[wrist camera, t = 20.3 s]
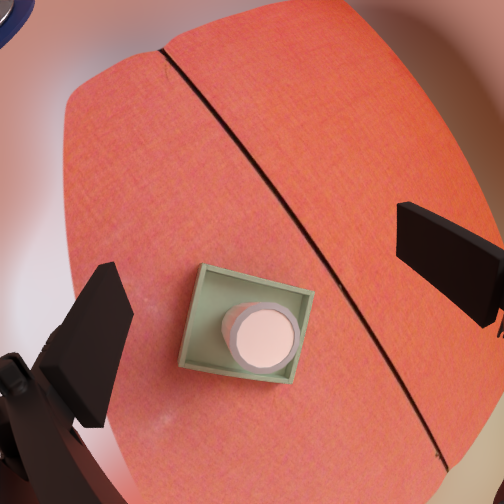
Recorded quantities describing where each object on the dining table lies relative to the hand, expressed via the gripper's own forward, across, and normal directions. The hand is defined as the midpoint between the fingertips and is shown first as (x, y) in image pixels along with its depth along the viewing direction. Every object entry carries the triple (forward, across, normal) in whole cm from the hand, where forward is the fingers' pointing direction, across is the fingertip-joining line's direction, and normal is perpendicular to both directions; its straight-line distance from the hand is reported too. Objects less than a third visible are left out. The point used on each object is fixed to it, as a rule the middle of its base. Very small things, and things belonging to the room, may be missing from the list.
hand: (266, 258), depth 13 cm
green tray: (+17, -2, -16) cm, 23 cm away
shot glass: (+16, -2, -16) cm, 22 cm away
